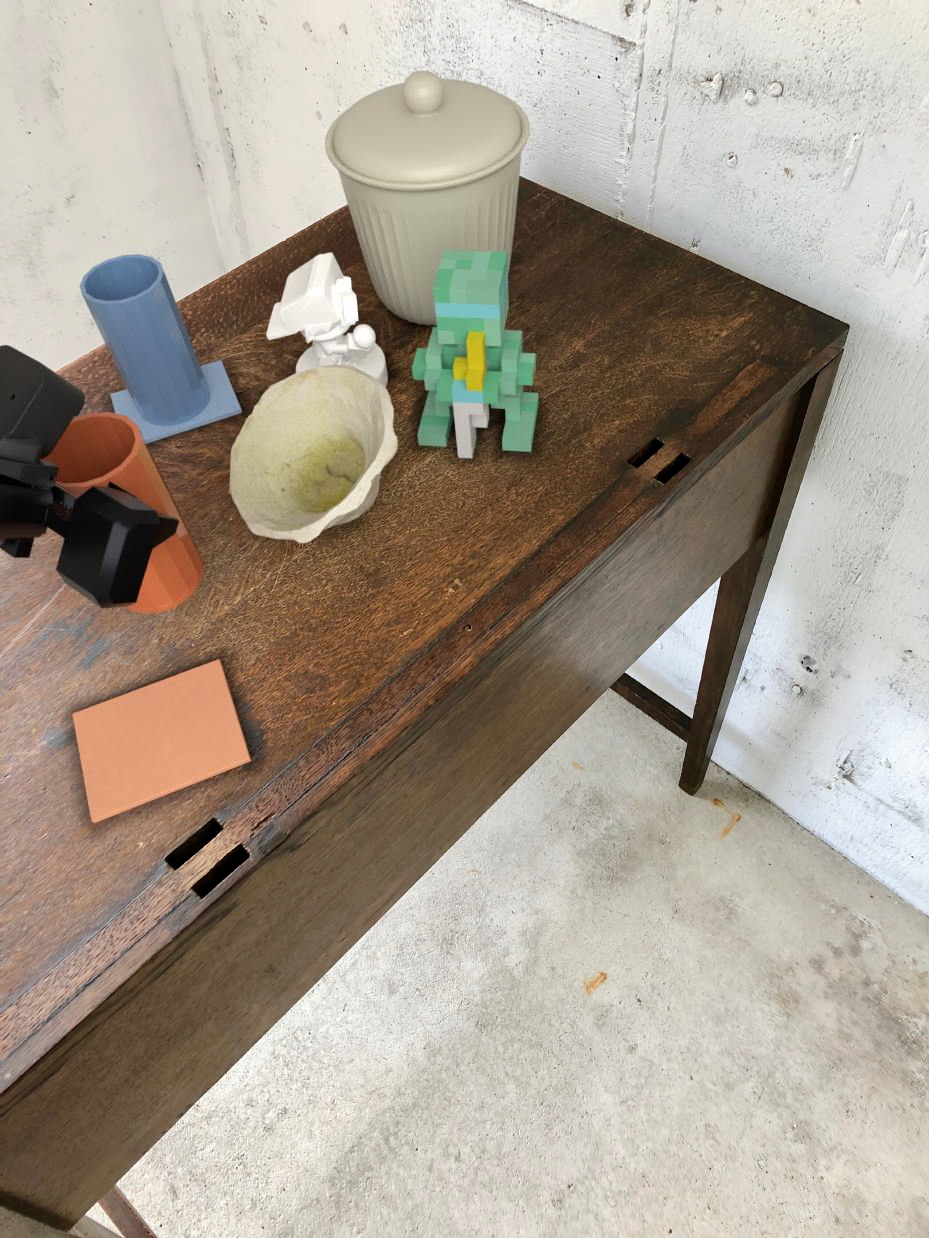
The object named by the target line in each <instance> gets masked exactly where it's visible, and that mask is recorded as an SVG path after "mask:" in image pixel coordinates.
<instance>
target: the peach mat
mask: <svg viewBox="0 0 929 1238" xmlns="http://www.w3.org/2000/svg"><path fill="white" fill-rule="evenodd" d="M72 720H73V725H74V730H75V737H76V742H77V748H78V753H79V759H80V764H81V765H80V766H81V770H82V775H83V781H84V787H85V793H86V799H87V805H88V810H89V815H90V821H91V822H92V823H93V824H96V823H99V822H101V821H103V820H106V819H109V818H111V817H114V816H117V815H119V814H121V813H124V812H126V811H130V810H132V809H134V808H137V807H139V806H142V805H144V804H146V803H149V802H151V801H155V800H157V799H159V798H161V797H164V796H167V795H170V794H172V793H175V792H177V791H180V790H182V789H185V788H187V787H189V786H193V785H195V784H197V783H199V782H202V781H204V780H207V779H209V778H212V777H214V776H217V775H219V774H223V773H225V772H227V771H230V770H232V769H235V768H237V767H240V766H242V765H245V764H247V763H250V762H252V758H251V755H250V752H249V748H248V744H247V742H246V739H245V735H244V732H243V728H242V725H241V722H240V718H239V716H238V713H237V709H236V706H235V702H234V699H233V696H232V693H231V690H230V686H229V683H228V680H227V677H226V673H225V670H224V667H223V663H222V661H221V659H219V658H217V659H215V660H211V661H210V662H207V663H205V664H202V665H199V666H196V667H194V668H190V669H188V670H186V671H183V672H180V673H178V674H175V675H172V676H170V677H167V678H163V679H161V680H159V681H156V682H153V683H151V684H148V685H145V686H142V687H140V688H137V689H135V690H132V691H129V692H127V693H124V694H121V695H119V696H116V697H113V698H110V699H108V700H105V701H102V702H100V703H97V704H95V705H92V706H89V707H86V708H83V709H81V710H78V711H76V712H73V713H72Z"/></svg>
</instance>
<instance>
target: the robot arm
mask: <svg viewBox="0 0 929 1238" xmlns="http://www.w3.org/2000/svg"><path fill="white" fill-rule="evenodd" d="M85 403H86V396H85V393H84V391H83V390H82V389H80V388H79V387H78V386H76V385H74V384H73V383H72V382H70V381H69V380H67V379H65V378H64V377H62V376H61V375H60V374H58V373H57V372H56V371H54V370H53V369H51V368H49V367H48V366H46V365H45V364H43V363H42V362H40V361H39V360H37V359H35V358H33V357H31V356H30V355H28V354H25V353H24V352H23V351H20V350H18V349H16V348H15V347H13V346H11V345H8V344H3V345H0V549H1V550H2V552H5V553H6V554H8V555H9V556H11V557H12V558H13V559H30V558H31V553H32V550H33V547H34V543H35V539H36V538H37V539H39V538H44V537H46V535H47V531H48V529H49V530H51V531H52V532H54V533H55V534H57V535H58V536H60V537H61V538H63V542H62V546H61V548H60V549H61V550H60V554H59V557H58V561H57V563H56V566H55V567H56V568H55V571H56V573H57V574H58V575H59V577H60V578H61V580H62V581H63V582H64V583H65V584H66V586H69V587H70V588H71V589H73V590H74V591H76V592H77V593H78V594H80V595H82V596H83V597H84V598H85V599H87V600H89V602H91V603H93V604H94V605H96V606H98V607H99V608H100V609H115V608H117V609H118V608H125V607H128V606H130V605H132V604H134V603H136V602H137V599H138V595H139V592H140V589H141V585H142V582H143V579H144V576H145V572H146V569H147V566H148V563H149V559H150V556H151V553H152V549H153V548H155V547H156V546H158V545H159V544H161V543H162V542H164V541H165V540H167V539H168V538H170V537H171V536H173V535H174V534H175V533H176V531H177V527H178V524H179V520H178V519H177V518H175V517H171V516H168V515H165V514H161V513H157V511H156V510H155V509H153V508H151V507H150V506H148V505H146V504H145V503H143V502H141V501H140V500H139V499H138V498H137V497H135V496H134V495H132V494H131V493H129V492H127V491H126V490H124V489H122V488H121V487H119V486H117V485H116V484H114V483H112V482H110V481H109V484H108V487H100V486H92V487H91V488H89V489H88V490H87V491H86V492H84V493H83V494H82V495H81V496H79V497H78V496H76V495H75V494H73V493H72V492H70V491H68V490H67V489H65V488H64V487H62V486H60V485H59V484H57V483H55V482H56V478H57V474H58V470H59V466H57V465H55V464H54V463H52V462H50V461H43V460H40V459H43V458H45V457H47V456H48V455H49V454H50V453H51V452H52V451H53V450H54V448H55V447H56V445H57V443H58V442H59V440H60V439H61V437H62V435H63V434H64V432H65V431H66V429H67V427H68V426H69V424H70V423H71V421H72V419H73V418H76V417H79V416H80V414H81V413H82V410H83V409H84V406H85Z"/></svg>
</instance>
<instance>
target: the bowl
mask: <svg viewBox="0 0 929 1238" xmlns="http://www.w3.org/2000/svg"><path fill="white" fill-rule="evenodd" d="M394 420H395V409H394V404H393V403H392V398H391V396H390V393H389V391H388V389H387V387H386V388H385V387H384V386H383V385H382V384H381V383H379V382H378V380H377V379H375V378H374V377H372V376H371V375H368V374H366V373H365V372H363V371H361V370H359V369H357V368H356V367H353V366H350V365H328V366H321V367H316V368H311V369H307V370H305V371H302V372H298V373H296V372H295V373H293V374H292V375H289V376H288V377H286V378H284V379H282V380H279V381H278V382H275V383H273V384H271V385H270V386H269V387H268V388H267V389H266V390H265V392H264V393H263V394H262V395H261V396H260V398H259V400H258V402H257V403H256V404H255V405H254V407H253V410H252V412H251V414H249V415H248V417H247V418H246V419H245V422H244V423H243V425H242V427H241V429H240V431H239V434H238V435H237V436H236V439H235V441H234V443H233V445H232V446H231V451H230V465H229V488H228V494H230V495H231V499H232V501H233V503H234V505H235V506H236V507H237V510H238V513H239V514H240V517H241V518H242V519H243V520H244V522H245V523H246V525H247V527H248V529H249V530H250V532H252V534H253V535H256V536H258V537H266V538H270V539H274V540H288V541H295V542H297V543H299V544H307V543H309V542H311V541H312V540H314V539H315V538H317V537H319V536H320V534H321V533H322V532H323V531H325V530H328V529H331V528H333V526H341V525H343V524H347V523H350V522H351V521H353V520H356V519H358V518H359V517H361V515H363V514H364V513H365V512H366V511H368V510H369V509H370V508H371V507H372V506H373V505H374V503H375V501H376V499H377V497H378V494H379V491H380V482H381V481H380V480H381V476H382V470H383V469H384V468H385V467H386V466H387V465H388V463H389V462H391V460H392V459H393V458H394V456H395V455H396V453H397V451H398V446H399V441H398V437H397V435H396V433H395V430H394Z"/></svg>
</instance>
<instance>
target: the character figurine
mask: <svg viewBox="0 0 929 1238" xmlns="http://www.w3.org/2000/svg"><path fill="white" fill-rule="evenodd" d="M351 279H352V278H351V277H350V276H345V275H344V274H343V271H342V269H341V268H340V264H339V263H338V260H337V258H336V256H335V255H334V253H333V252H332V251H330V252H325V253H319V254H318V255H315V256H314V257H313V258H311V259H310V260H309V261H307V262H305V263H304V264H303V265H300V266H299V267H298V268H296V269H295V270H293V271H292V272H290V273H289V275H287V278H286V281H285V285H284V289H283V293H282V297H281V300H280V301H279V302H275V304H274V305H273V308H272V312H271V314H270V318H269V322H268V326H267V330H266V334H265V335H266V338H267V340H268V341H272V340H277V339H280V338H284V337H287V336H291V335H295V334H297V333H298V332H300V333H301V335H302V336H303V337H304V338H305V342H306V344H310V343H311V342H312V343H311V344H312V345H311V346H310V347H308V348H307V349H306V350H305V351H304V352H303V353H302V355H301V356H299V358H298V361H297V363H296V366H295V374H296V373H298V372H302V371H305V370H307V369H311V368H316V367H321V366H328V365H350V366H353V367H356V368H357V369H359V370H361V371H363V372H365V373H366V374H368V375H371V376H372V377H374V378H375V379H377V380H378V382H379V383H381V384H382V385H383V386H384V387H385V388H386V389H387V385H388V382H389V375H388V368H387V362H386V357H385V354H384V352H383V349H382V348H381V347H380V346H379V345H378V344H377V343H376V340H377V336H376V332H375V330H374V329H373V328H372V327H371V326H370V325H369V324H365V323H361V324H358V325H357V326H355V328H354V329H353V331H352V332H347V331H348V330H349V329H350V328H351V326H353V325H356V322H359V313H358V311H359V310H358V301H357V294H356V293H355V291H353V289H352V280H351ZM346 332H347V333H346ZM345 333H346V334H345Z"/></svg>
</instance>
